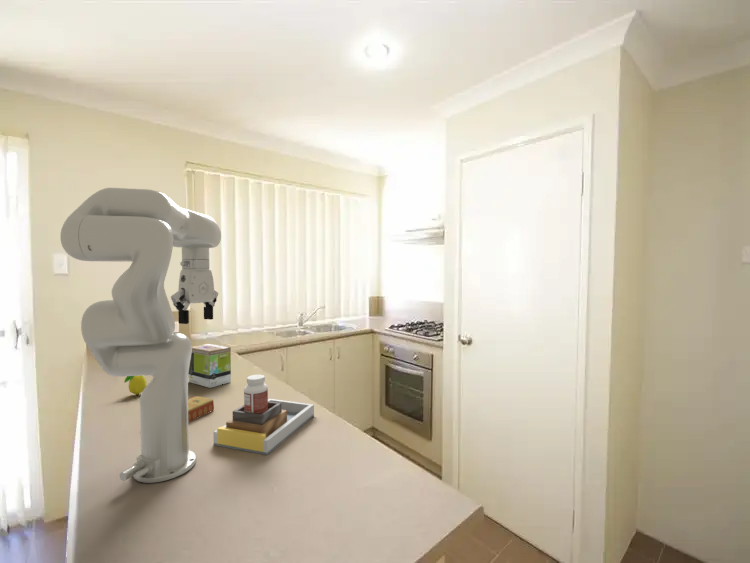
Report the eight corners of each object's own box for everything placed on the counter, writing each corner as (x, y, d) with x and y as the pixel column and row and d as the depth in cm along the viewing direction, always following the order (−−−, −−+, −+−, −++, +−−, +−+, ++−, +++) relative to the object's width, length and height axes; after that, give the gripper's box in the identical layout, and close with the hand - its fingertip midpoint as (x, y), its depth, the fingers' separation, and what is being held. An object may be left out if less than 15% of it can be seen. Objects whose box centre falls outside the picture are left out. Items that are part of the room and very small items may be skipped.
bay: (267, 455, 88) (267, 436, 88) (213, 445, 93) (213, 427, 92) (313, 415, 112) (313, 401, 111) (269, 409, 116) (269, 395, 116)
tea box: (231, 382, 145) (231, 346, 144) (209, 389, 136) (208, 351, 136) (210, 376, 153) (209, 342, 152) (187, 382, 144) (187, 346, 144)
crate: (261, 447, 90) (261, 418, 90) (226, 440, 93) (226, 412, 93) (287, 427, 101) (286, 401, 101) (254, 422, 105) (254, 397, 104)
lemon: (152, 392, 132) (152, 366, 132) (140, 398, 126) (140, 370, 126) (136, 391, 133) (135, 365, 133) (123, 397, 127) (123, 369, 127)
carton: (214, 411, 115) (214, 398, 115) (168, 432, 101) (168, 417, 100) (196, 407, 119) (195, 395, 118) (149, 427, 104) (149, 413, 104)
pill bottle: (270, 412, 100) (270, 373, 100) (264, 421, 94) (264, 380, 93) (248, 412, 100) (248, 373, 99) (241, 421, 93) (240, 380, 93)
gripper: (182, 265, 98) (183, 326, 99) (225, 266, 115) (226, 318, 115) (161, 265, 100) (162, 324, 101) (207, 266, 117) (207, 317, 117)
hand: (196, 321), depth 108 cm, fingers open, 9 cm apart
